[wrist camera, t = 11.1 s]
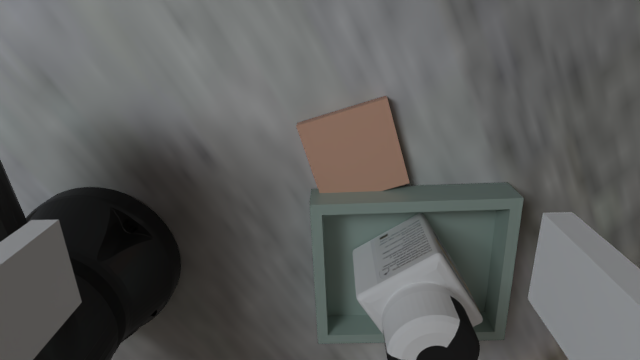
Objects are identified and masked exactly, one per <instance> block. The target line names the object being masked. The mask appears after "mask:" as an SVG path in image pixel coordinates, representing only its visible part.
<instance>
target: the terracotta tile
mask: <svg viewBox="0 0 640 360" xmlns="http://www.w3.org/2000/svg"><path fill="white" fill-rule="evenodd" d="M296 126H297V129H298V132H299V135H300V138H301V141H302V144H303V147H304V149H305V152H306V155H307V158H308V161H309V164H310V167H311V170H312V173H313V175H314V178H315V181H316V184H317V187H318V190H319V193H339V192H369V191H384V190H387V189H391V188H394V187H398V186H402V185H405V184H409V179H408V175H407V171H406V167H405V163H404V160H403V156H402V152H401V148H400V144H399V141H398V137H397V133H396V129H395V125H394V121H393V118H392V114H391V110H390V106H389V102H388V98H387V97H386V96H383V97H380V98H377V99H374V100H370V101H367V102H364V103H361V104H357V105H354V106H351V107H348V108H344V109H341V110H338V111H335V112H331V113H328V114H325V115H322V116H318V117H315V118H312V119H309V120H305V121H302V122H299V123H297V125H296Z"/></svg>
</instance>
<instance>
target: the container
mask: <svg viewBox="0 0 640 360" xmlns="http://www.w3.org/2000/svg"><path fill="white" fill-rule="evenodd" d="M352 255H353V266H354V277H355V288H356V298H357V301H358V302H359V303H360V305H361V306H362V307H363V309H364V310H365V311H366V313H367V314H368V315H369V317H370V318H371V319H372V321H373V322H374V323H375V324H376V326H377V327H378V328H379V330H380V331H381V332H382V334H383V335H384V341H385V347H386V353H387V359H388V360H477V359H478V356H479V351H480V345H479V340H478V338H477V335H476V333H475V331H474V329H473V327H474V326H476V325H478V324H480V323H481V322H482V321H483V318H482V315H481V313H480V311H479V309H478V307H477V305H476V303H475V301H474V299H473V297H472V295H471V293H470V291H469V289H468V287H467V285H466V283H465V281H464V279H463V277H462V275H461V273H460V271H459V269H458V267H457V266H456V264H455V263H454V261H453V260H452V258H451V256H450V255H449V253H448V252H447V250H446V249H445V247H444V245H443V244H442V242H441V241H440V239H439V238H438V236H437V234H436V233H435V231H434V230H433V228H432V227H431V225H430V224H429V222H428V220H427V219H426V217H425V216H424V215H423V214H422V213H419V214H417V215H415V216H413V217H411V218H410V219H408V220H406V221H404V222H402V223H401V224H399V225H397V226H395V227H393V228H392V229H390V230H388V231H386V232H384V233H383V234H381V235H379V236H377V237H375V238H374V239H372V240H370V241H368V242H366V243H365V244H363V245H361V246H359V247H357V248H356V249H354V250H353V253H352Z"/></svg>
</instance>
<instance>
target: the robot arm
mask: <svg viewBox="0 0 640 360" xmlns="http://www.w3.org/2000/svg"><path fill="white" fill-rule="evenodd" d="M180 267H181V264H180V255H179V250H178V247H177V244H176V242H175V240H174V238H173V236H172V234H171V232H170V230H169V229H168V228H167V226H166V225H165V224H164V222H163V221H162V220H161V219H160V218H159V217H158V216H157V215H156V214H155V213H154V212H153V211H152V210H151V209H149V208H148V207H147V206H145V205H144V204H142V203H141V202H139V201H137V200H136V199H134V198H132V197H130V196H128V195H125V194H123V193H120V192H117V191H113V190H109V189H104V188H95V187H84V188H75V189H71V190H67V191H64V192H62V193H59V194H57V195H55V196H53V197H52V198H50V199H49V200H47V201H46V202H44V203H43V204H41V205H40V206H39V207H37V208H36V209H35V210H33V211H32V212H31V213H30V214H29V215H28V216H27V217H26V218H25V216H24V213H23V211H22V209H21V206H20V204H19V202H18V199H17V197H16V195H15V193H14V190H13V188H12V186H11V183H10V181H9V179H8V176H7V174H6V172H5V169H4V167H3V165H2V162H1V160H0V360H111V358H112V356H113V354H114V353H115V351H116V350H117V348H118V347H119V345H120V343H121V342H123V341H124V340H125V339H127V338H128V337H129V336H131V335H132V334H133V333H134V332H136V331H137V330H138V329H139V327H141V326H143V325H144V324H146V323H148V322H149V321H150V320H152V319H153V318H154V317H155V316H157V315H158V314H159V313H160V312H161V310H162V309H163V308H164V307H165V305H166V304H167V302H168V300H169V299H170V297H171V295H172V293H173V292H174V290H175V288H176V286H177V283H178V280H179V276H180ZM528 300H529V301H530V303H531V304H532V306H533V307H534V309H535V310H536V312H537V313H538V315H539V316H540V318H541V319H542V321H543V322H544V324H545V325H546V327H547V328H548V330H549V331H550V333H551V334H552V335H553V337H554V338H555V340H556V341H557V343H558V344H559V346H560V347H561V349H562V350H563V352H564V353H565V355H566V356H567V358H568V359H569V360H640V269H639V268H638V267H637V266H636V265H634V264H633V263H632V262H631V261H630V260H628V259H627V258H626V257H625V256H624V255H623V254H621V253H620V252H619V251H618V250H617V249H615V248H614V247H613V246H612V245H611V244H610V243H608V242H607V241H606V240H605V239H604V238H602V237H601V236H600V235H599V234H598V233H596V232H595V231H594V230H593V229H592V228H591V227H589V226H588V225H587V224H586V223H585V222H583V221H582V220H581V219H580V218H579V217H578V216H576V215H575V214H574V213H573V212H553V213H543V216H542V221H541V227H540V232H539V238H538V244H537V249H536V255H535V260H534V266H533V272H532V277H531V283H530V288H529V294H528Z"/></svg>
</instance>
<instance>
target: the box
mask: <svg viewBox="0 0 640 360" xmlns="http://www.w3.org/2000/svg"><path fill="white" fill-rule="evenodd" d="M523 200H524V198H523V197H522V196H521V195H520V194H519V193H518V192H517V191H516V190H515V189H514V188H513V187H512V186H511V185H510V184H509V183H478V184H449V185H420V186H398V187H394V188H391V189H387V190H384V191H369V192H339V193H319V190H318V189H311V197H310V219H311V236H312V252H313V269H314V285H315V302H316V318H317V335H318V344H332V343H381V342H385V341H384V335H383V334H382V332H381V331H380V330H379V328H378V327H377V326H376V324H375V323H374V322H373V321H372V319H371V318H370V317H369V315H368V314H367V313H366V311H365V310H364V309H363V307H362V306H361V305H360V303H359V302H358V301H357V298H356V288H355V277H354V266H353V255H352V253H353V250H354V249H356V248H357V247H359V246H361V245H363V244H365V243H366V242H368V241H370V240H372V239H374V238H375V237H377V236H379V235H381V234H383V233H384V232H386V231H388V230H390V229H392V228H393V227H395V226H397V225H399V224H401V223H402V222H404V221H406V220H408V219H410V218H411V217H413V216H415V215H417V214H419V213H422V214H423V215H424V216H425V217H426V219H427V220H428V222H429V224H430V225H431V227H432V228H433V230H434V231H435V233H436V234H437V236H438V238H439V239H440V241H441V242H442V244H443V245H444V247H445V249H446V250H447V252H448V253H449V255H450V256H451V258H452V260H453V261H454V263H455V264H456V266H457V267H458V269H459V271H460V273H461V275H462V277H463V279H464V281H465V283H466V285H467V287H468V289H469V291H470V293H471V295H472V297H473V299H474V301H475V303H476V305H477V307H478V309H479V311H480V313H481V315H482V318H483V321H482V322H481V323H480V324H478V325H476V326H474V327H473V329H474V331H475V333H476V335H477V338H478V340H479V341H480V340H504V337H505V330H506V323H507V316H508V308H509V301H510V294H511V287H512V279H513V272H514V265H515V258H516V250H517V243H518V236H519V229H520V221H521V214H522V207H523Z"/></svg>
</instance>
